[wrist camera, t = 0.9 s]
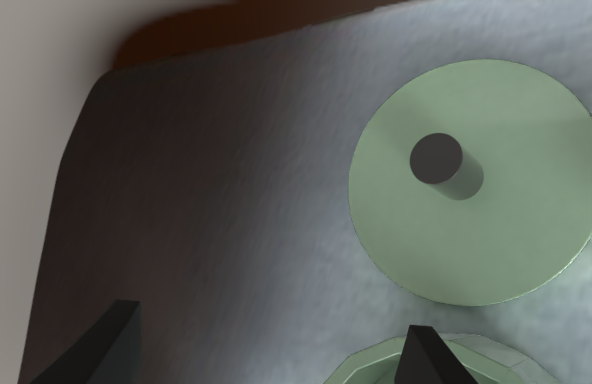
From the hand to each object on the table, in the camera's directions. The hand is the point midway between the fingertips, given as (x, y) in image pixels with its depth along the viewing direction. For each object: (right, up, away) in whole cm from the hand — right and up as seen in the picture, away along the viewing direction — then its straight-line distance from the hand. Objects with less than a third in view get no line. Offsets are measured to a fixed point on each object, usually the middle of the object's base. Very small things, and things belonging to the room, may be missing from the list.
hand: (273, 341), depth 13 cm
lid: (+9, +5, +13) cm, 16 cm away
